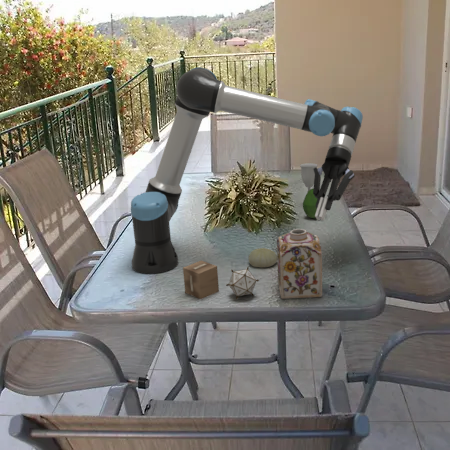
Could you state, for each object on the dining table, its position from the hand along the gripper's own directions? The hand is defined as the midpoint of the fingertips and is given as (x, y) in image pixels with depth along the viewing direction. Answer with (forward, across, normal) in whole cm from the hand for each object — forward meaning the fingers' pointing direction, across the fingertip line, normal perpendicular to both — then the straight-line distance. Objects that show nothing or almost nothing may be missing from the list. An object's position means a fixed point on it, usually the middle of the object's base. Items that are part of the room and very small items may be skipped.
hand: (319, 218), depth 175 cm
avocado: (-22, +23, -46) cm, 56 cm away
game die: (+30, +13, +5) cm, 33 cm away
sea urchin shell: (+14, +19, -11) cm, 26 cm away
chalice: (-31, +30, -55) cm, 70 cm away
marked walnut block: (+32, +25, +8) cm, 41 cm away
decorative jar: (+23, 0, -2) cm, 23 cm away
